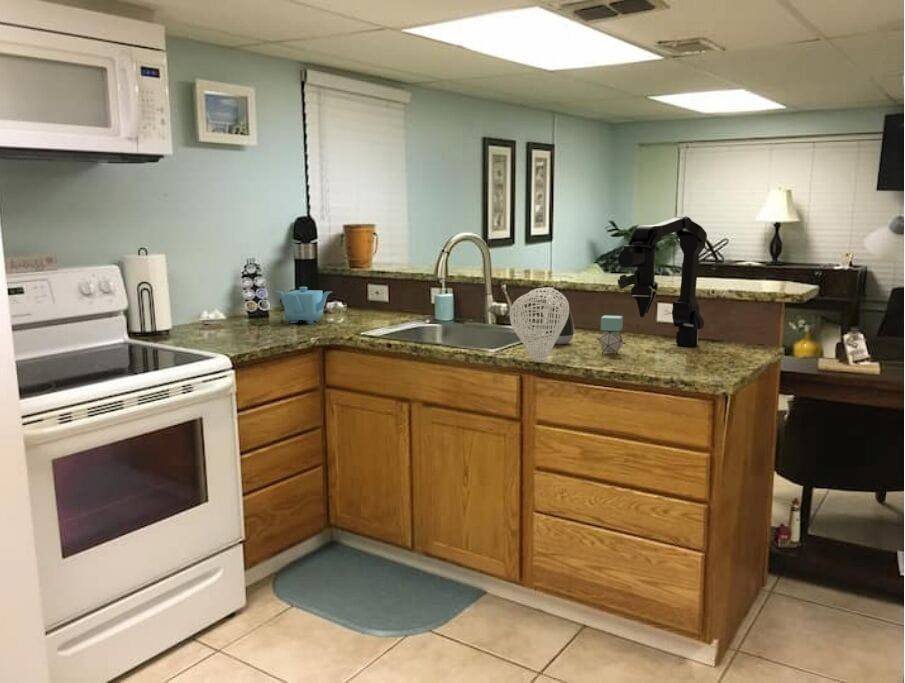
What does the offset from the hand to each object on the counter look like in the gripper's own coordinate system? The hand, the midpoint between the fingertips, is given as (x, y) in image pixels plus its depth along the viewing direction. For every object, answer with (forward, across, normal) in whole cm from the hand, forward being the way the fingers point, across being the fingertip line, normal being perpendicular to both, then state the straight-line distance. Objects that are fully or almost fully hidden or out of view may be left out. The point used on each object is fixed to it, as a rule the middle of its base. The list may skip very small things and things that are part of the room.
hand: (644, 315), depth 248 cm
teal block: (+5, +1, -10) cm, 11 cm away
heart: (+13, +23, -28) cm, 39 cm away
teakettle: (+13, -24, -141) cm, 143 cm away
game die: (+13, +1, -10) cm, 16 cm away
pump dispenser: (+13, -11, -30) cm, 34 cm away
